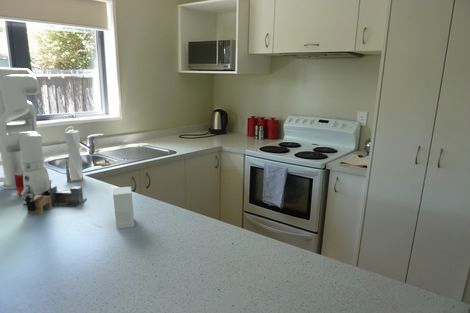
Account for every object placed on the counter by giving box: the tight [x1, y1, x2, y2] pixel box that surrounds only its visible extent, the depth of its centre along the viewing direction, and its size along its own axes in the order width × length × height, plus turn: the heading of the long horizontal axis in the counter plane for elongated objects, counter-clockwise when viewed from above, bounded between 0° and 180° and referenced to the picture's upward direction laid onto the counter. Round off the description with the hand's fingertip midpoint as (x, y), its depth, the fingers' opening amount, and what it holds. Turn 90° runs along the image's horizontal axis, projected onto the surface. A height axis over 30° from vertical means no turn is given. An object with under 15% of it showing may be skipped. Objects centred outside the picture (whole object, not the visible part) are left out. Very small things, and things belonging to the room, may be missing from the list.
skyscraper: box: [63, 125, 84, 183], centre depth 180 cm, size 8×8×28 cm
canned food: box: [14, 170, 24, 198], centre depth 160 cm, size 8×8×11 cm
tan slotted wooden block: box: [27, 195, 53, 215], centre depth 141 cm, size 6×6×6 cm
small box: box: [112, 186, 135, 230], centre depth 127 cm, size 8×6×13 cm
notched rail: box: [22, 185, 88, 208], centre depth 150 cm, size 24×9×7 cm, turn 84°
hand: (39, 206), depth 141 cm, fingers open, 9 cm apart
